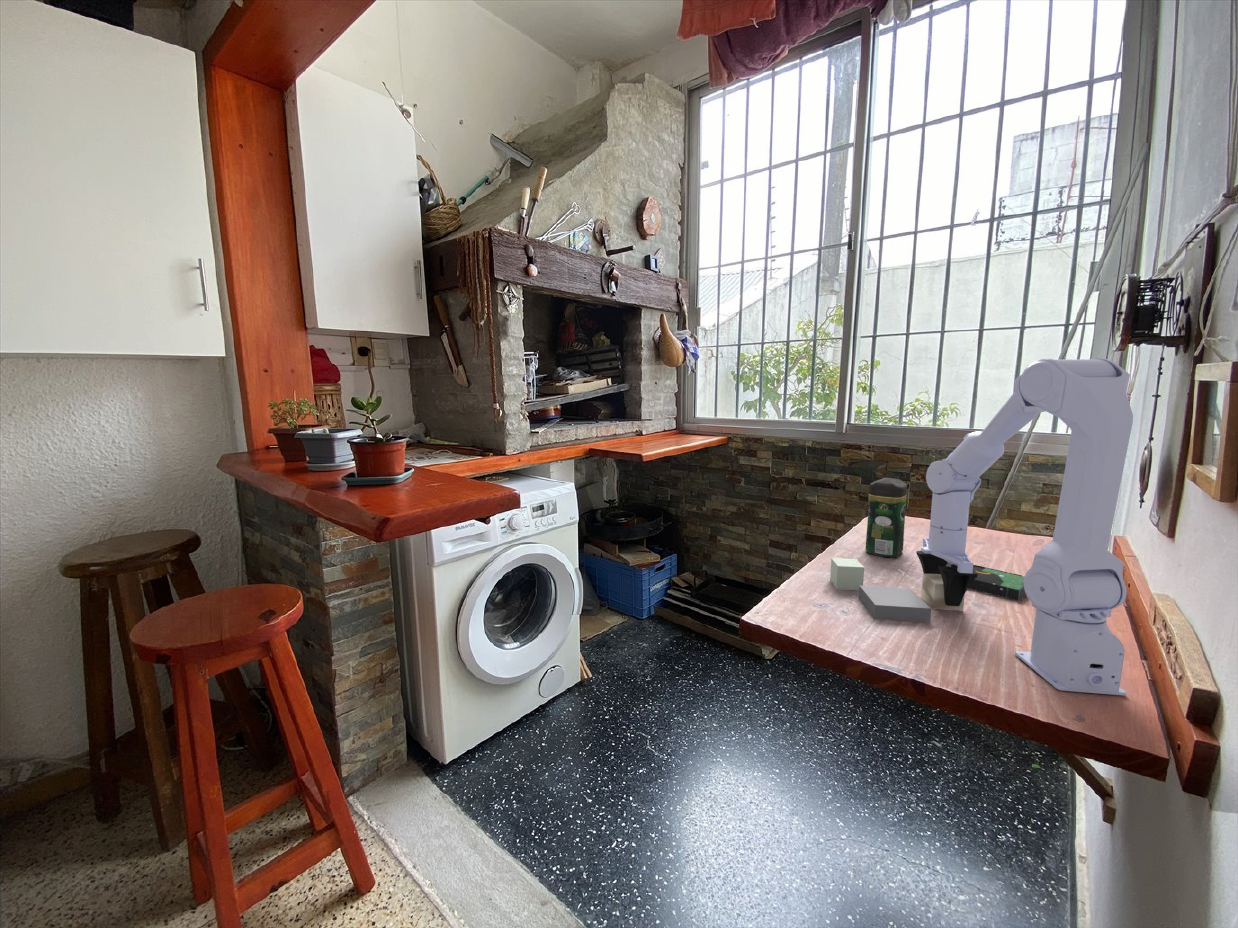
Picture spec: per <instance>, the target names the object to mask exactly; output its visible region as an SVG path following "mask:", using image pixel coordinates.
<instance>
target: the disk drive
mask: <svg viewBox="0 0 1238 928" xmlns="http://www.w3.org/2000/svg"><path fill="white" fill-rule="evenodd" d="M946 567H951V564H950V563H949V562H948V563H947V565H946ZM973 570H974V571H976V572H977V573H978V577H977V578H976V579H975V580H974V581H973V582H972V583H971V584H970V585H969V587H968V589H969V590H974V591H978V592H982V593H985V594H990V595H992V596H993V595H994V596H998V597H1001V598H1003V599H1008V600H1011V601H1012V600H1014V601H1016V602H1020V601H1021V600H1022V599H1023V598H1024V597H1026V596H1027V595H1026V593H1025V590H1024V577H1025V575H1024V576H1023V575H1022V574H1018V573H1013V572H1007V571H1004V570H999V569H994V568H991V567H987V566H981V565H978V564H977V565H976V564H973Z"/></svg>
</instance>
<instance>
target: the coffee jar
mask: <svg viewBox="0 0 1238 928" xmlns="http://www.w3.org/2000/svg"><path fill="white" fill-rule="evenodd" d="M907 493H908V486H907V483H906V482H904V481H903V480H902V479H901V478H895V477H894V478H892V477H883V478H881V479H877V480H875V481H873V482H871V483H870V484H869V486H868V503H867V505H868V506H867V507H868V509H867V521H866V522H867V524H866V535H865V536H866V537H865V538H866V539H865V551H866V552H867V553H869V554H872V555H874V556H877V557H881V558H885V557H888V558H889V557H891V558H895V557H898V556H900V555H901V554H902V552H903V550H904V543H905V542H904V541H905V538H904V537H905V522H906V507H907Z"/></svg>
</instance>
